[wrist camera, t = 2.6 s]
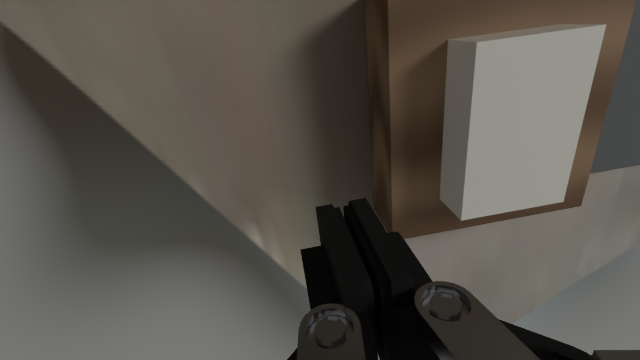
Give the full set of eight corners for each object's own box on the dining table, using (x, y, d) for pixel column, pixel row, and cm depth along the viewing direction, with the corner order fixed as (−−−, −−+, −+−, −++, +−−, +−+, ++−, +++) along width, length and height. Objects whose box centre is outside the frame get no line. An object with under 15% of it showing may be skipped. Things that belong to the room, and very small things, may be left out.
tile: (447, 39, 16) (476, 42, 14) (560, 24, 17) (606, 24, 15) (439, 198, 20) (461, 220, 18) (531, 182, 21) (563, 201, 18)
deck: (363, -5, 19) (387, -12, 15) (578, -32, 20) (648, -44, 16) (374, 209, 25) (392, 241, 21) (537, 180, 26) (581, 205, 22)
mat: (578, -32, 20) (582, -33, 19) (728, -50, 20) (734, -51, 20) (537, 180, 26) (539, 182, 25) (653, 159, 27) (657, 161, 26)
